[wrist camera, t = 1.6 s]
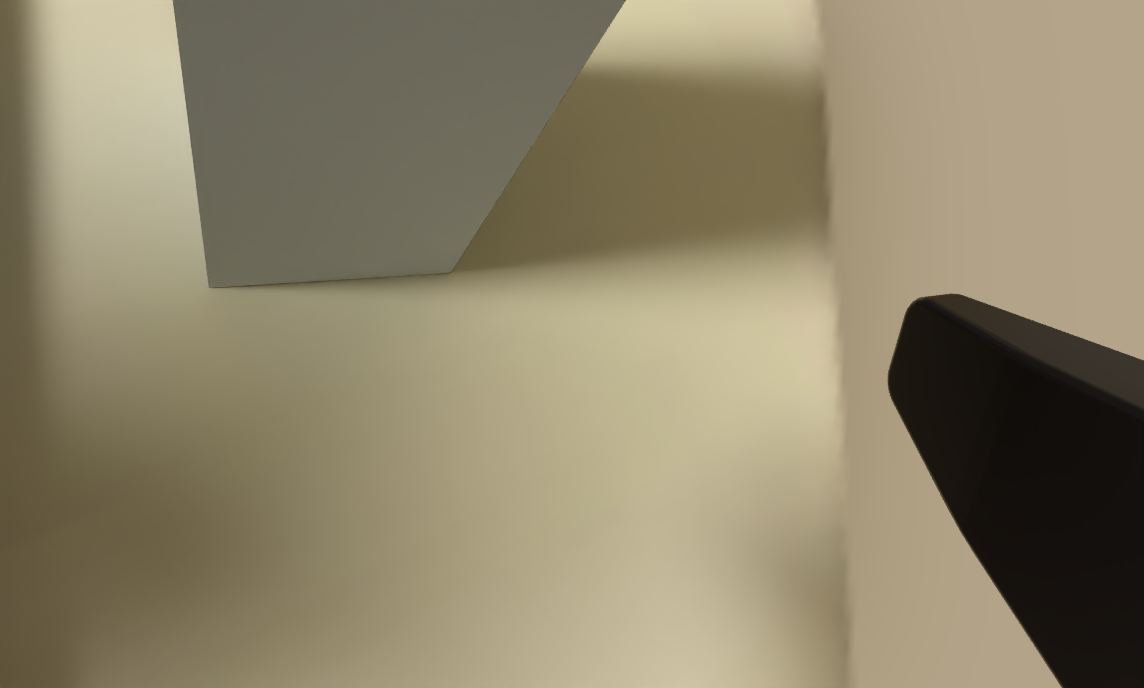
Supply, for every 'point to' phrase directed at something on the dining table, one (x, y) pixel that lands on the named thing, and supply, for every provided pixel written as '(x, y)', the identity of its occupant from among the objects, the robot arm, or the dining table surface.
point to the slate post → (366, 125)
